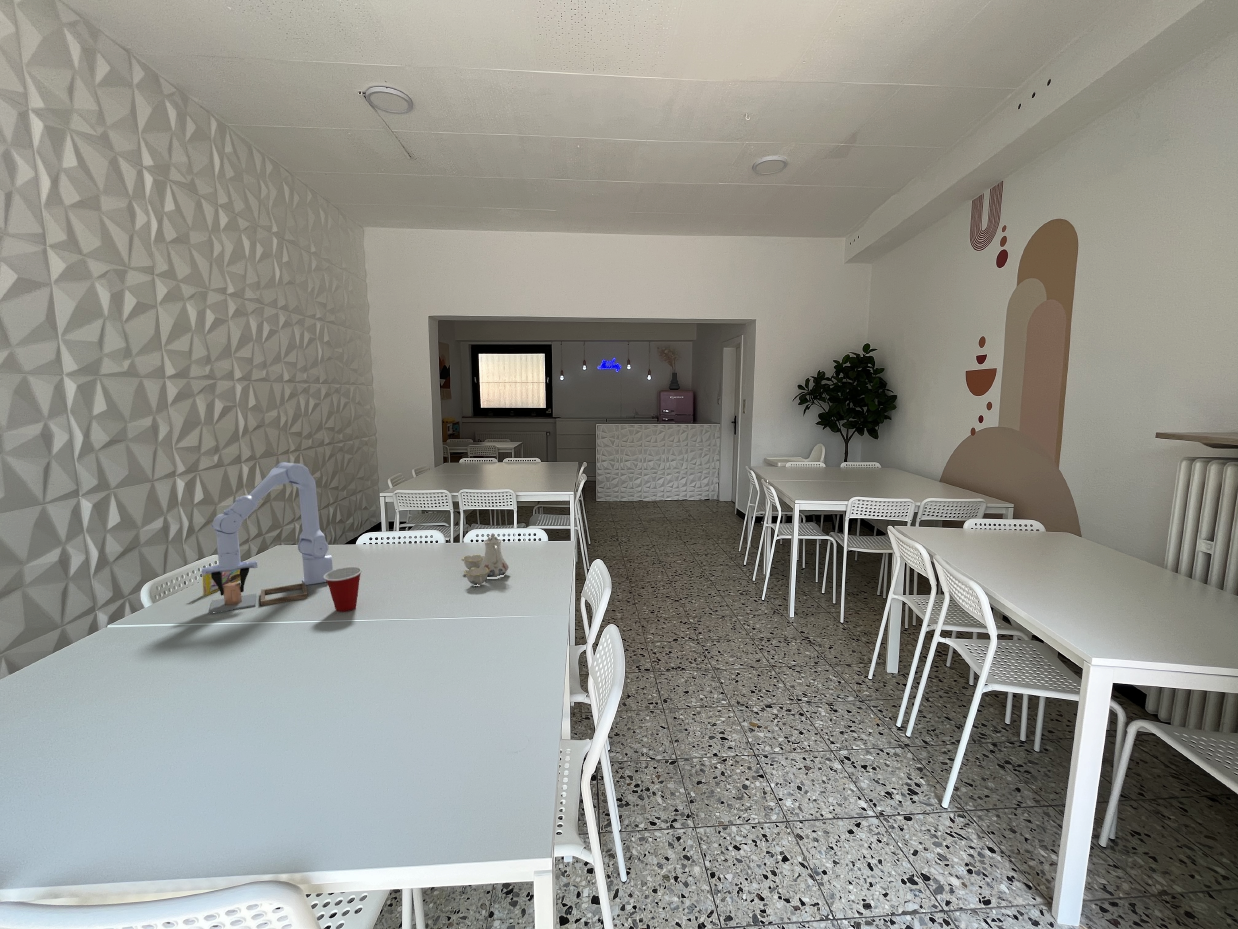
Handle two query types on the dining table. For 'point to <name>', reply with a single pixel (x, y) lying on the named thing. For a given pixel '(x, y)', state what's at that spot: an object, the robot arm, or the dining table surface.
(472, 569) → the chinaware
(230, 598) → the peach rounded block
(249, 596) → the grey mat
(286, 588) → the frame
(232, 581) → the candy box
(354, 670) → the dining table surface
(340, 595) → the plastic cup
